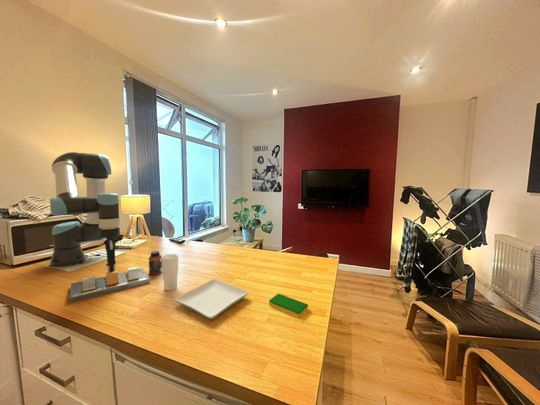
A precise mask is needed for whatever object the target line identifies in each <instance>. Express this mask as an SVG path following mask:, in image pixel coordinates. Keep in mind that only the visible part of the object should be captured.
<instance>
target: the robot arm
mask: <svg viewBox="0 0 540 405" xmlns="http://www.w3.org/2000/svg"><path fill="white" fill-rule="evenodd" d="M51 171H52V173H53V174H54V180H55V181H54V183H55V196H56V197H51V198H50V200H49V204H50V207H49V208H50V214H51V215H53V216H69V215H80V214H81V215H83V214H86V215H87V217H86V218H85V219H84V221H83V222H84V223H81V222H79V220H76V221H68V222H62V223H59V224H56V225H54V226H53V227H52V233H51V235H52V244H53V245H52V246H53V252H52V255H51V258H50V260H49V266H51V267H67V266H72V265H75V264H80V263H82V262H84V261H86V255H85V253H84V251H83V249H82V246H81V244H82V243H89V242H98V241H100V242H101V241H104V246H105V251H106V264H105V267H107V273H108V272H112V271H116V264H117V261H116V244H117V241H116V239H115V237H119V236H120V235H121V230H120V229H121V228H120V226H121V222H120V208H119V207H120V206H119V205H120V200H119V194H118V193H116V192H115V193H113V192H109V193H108V192H107V193H106V180H107V179H109V176H110V175H112V166H111V162H110V159H109V157H108V156H107V155H104V154H99V153H89V152H88V153H87V152H86V153H85V152H76V151H72V152H66V153H62V154H61V155H58V156H57V157H56V158H55V159H54V160H53V162H52V164H51ZM78 174H80V175H81V174H82V178H84V179H85V180H86V183H85V184H86V196H79V195H80V194H79V188H78V183H77V181H78V180H77V175H78Z"/></svg>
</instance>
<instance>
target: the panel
mask: <svg viewBox="0 0 540 405" xmlns="http://www.w3.org/2000/svg"><path fill="white" fill-rule="evenodd" d="M150 278H151V277H149V276H148V274H147V273H146V271H145V269H144V268H140V267H139V266H135V267H129V268H127V271H124V272H119V273H118V283H116V284H112V285H107V280H106V275H105V276H101V277H95V275H90V276H86V277H81V279H82V280H80V281H77V282H72V283H71V284H70V290H69V297H68V298H69V299H68V300H69V304H71V303H75V302H79V301H83V300H87V299H91V298H96V297H99V296H103V295H106V294H112V293H115V292H119V291H123V290H126V289H131V288H134V287H139V286H143V285H147V284H151V281H150Z"/></svg>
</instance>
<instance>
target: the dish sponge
mask: <svg viewBox="0 0 540 405" xmlns="http://www.w3.org/2000/svg"><path fill="white" fill-rule="evenodd" d="M269 305H270V306H269ZM268 306H269V307H271V306H272V307H271V308H274V309H276V308H277V309H276V310H279V311H281V312H283V311H284V313H285V314H288V313H289V315H291V314H292V315H291V316H293V315H295V316H297V317H296V318H298V317H300V318H302V317H303V315H304V314H305V313H306V312H307V311H308V310H309V304H308V303H304V302H302V301H300V300H296V299H294V298H292V297H289V296H286V295H284V294H281V293H277V294H276V295H274V296H272V298H270V299H269V300H268ZM307 309H308V310H307ZM306 310H307V311H306ZM305 311H306V312H305ZM304 312H305V313H304ZM295 316H294V317H295Z"/></svg>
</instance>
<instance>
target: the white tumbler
mask: <svg viewBox="0 0 540 405" xmlns="http://www.w3.org/2000/svg"><path fill="white" fill-rule="evenodd" d="M161 257H162V272H161V273H162V279H163V288H164V290H165V291H167V292H168V291H169V292H171V291H174V290H176V289H177V288H178V276H179V275H178V272H179V255H178V254H176V253H169V254H165V255H161Z"/></svg>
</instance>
